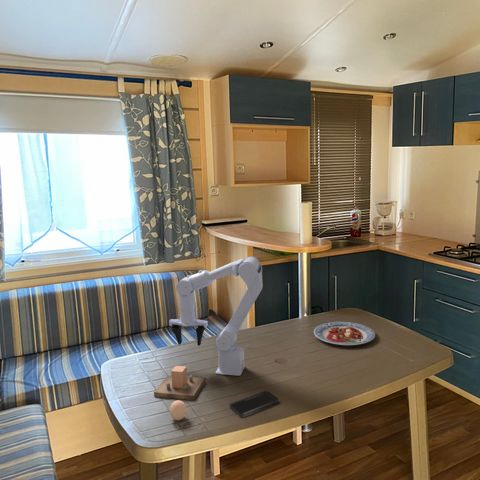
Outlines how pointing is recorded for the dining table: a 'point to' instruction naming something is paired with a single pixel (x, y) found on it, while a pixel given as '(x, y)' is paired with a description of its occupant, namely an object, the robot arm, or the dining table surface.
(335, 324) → the ceramic plate
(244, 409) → the phone
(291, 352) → the dining table surface
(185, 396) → the peg stand
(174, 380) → the pink block
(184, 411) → the egg
